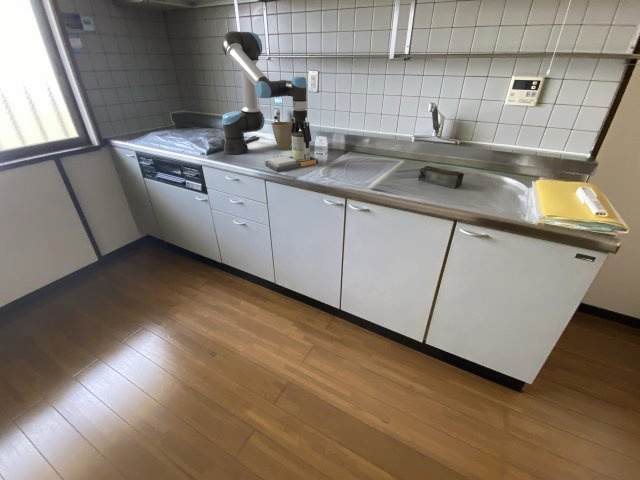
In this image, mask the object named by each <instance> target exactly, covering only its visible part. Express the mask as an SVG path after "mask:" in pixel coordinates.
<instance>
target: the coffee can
mask: <svg viewBox="0 0 640 480" xmlns="http://www.w3.org/2000/svg"><path fill="white" fill-rule="evenodd" d="M291 135H292V144H291V148H292V149H291V151H292V156H293V159H294V160H297V161H305V160H309V159H310V156H311V141H310V142H309V154H304V141H305V140H304V135H303V134H302V131H301V130H299V132H292V133H291Z"/></svg>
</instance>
